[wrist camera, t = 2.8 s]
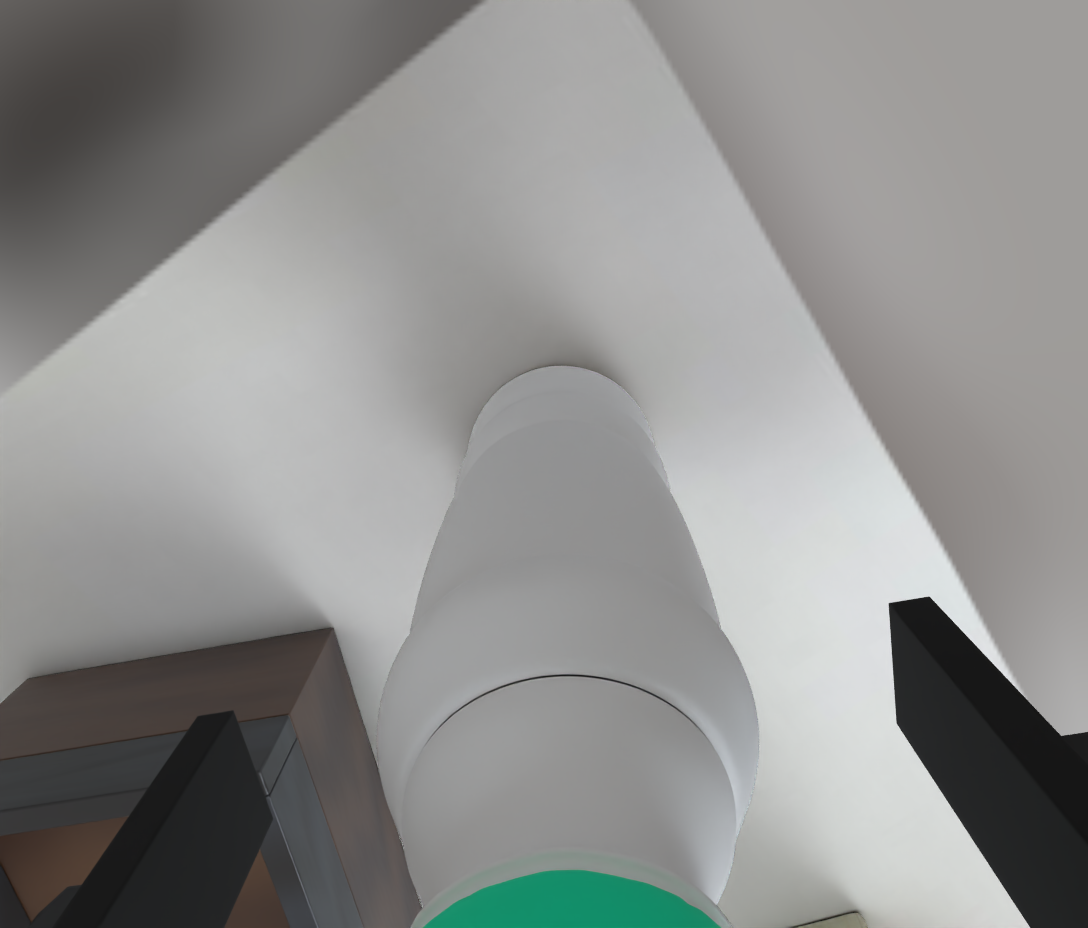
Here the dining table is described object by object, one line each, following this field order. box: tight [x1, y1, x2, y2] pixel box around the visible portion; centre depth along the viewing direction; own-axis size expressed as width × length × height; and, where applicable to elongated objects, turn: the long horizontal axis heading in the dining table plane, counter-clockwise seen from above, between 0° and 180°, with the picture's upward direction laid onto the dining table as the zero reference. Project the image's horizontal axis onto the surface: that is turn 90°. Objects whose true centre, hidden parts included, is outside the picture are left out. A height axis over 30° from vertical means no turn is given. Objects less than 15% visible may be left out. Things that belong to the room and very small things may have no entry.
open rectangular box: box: [0, 628, 422, 928], centre depth 33 cm, size 18×14×9 cm
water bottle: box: [377, 366, 759, 928], centre depth 20 cm, size 7×7×25 cm
